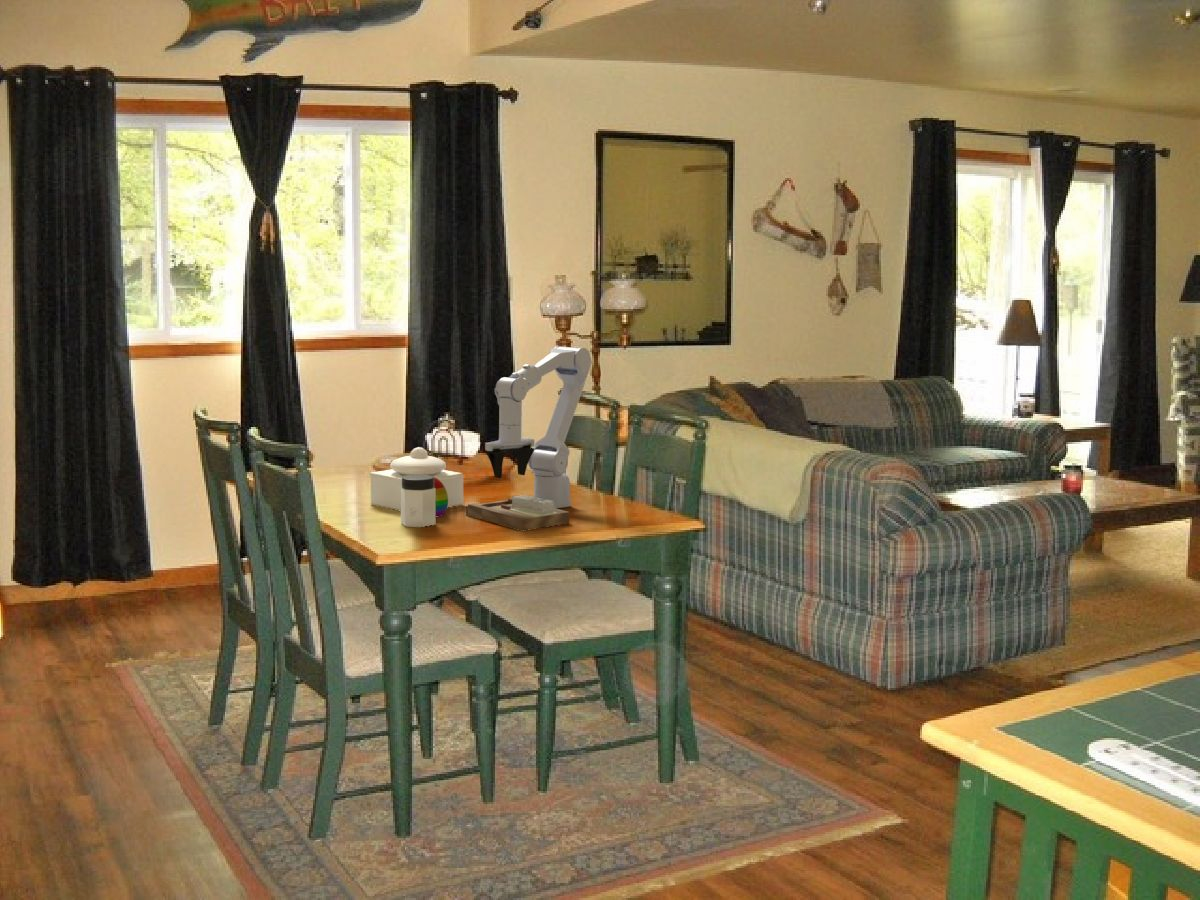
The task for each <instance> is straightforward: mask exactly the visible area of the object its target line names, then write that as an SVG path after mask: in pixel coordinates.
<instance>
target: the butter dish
mask: <svg viewBox="0 0 1200 900" xmlns="http://www.w3.org/2000/svg"><path fill="white" fill-rule="evenodd" d="M389 466H390V469H386V470H379V471H373V472H369V476H370V505H371V504H372V505H371V506H374V505H377V506H376V507H379V506H381V507H380V508H383V507H386V508H385V509H388V508H391V509H390V510H392V509H395V510H394V511H397V510H400V511H399V512H401V487H402V477H403V476H406V475H415V474H422V475H431V476H433V477H435V478H437V479H438V480H440V481H441V482H442V484H443V485H444V487H445V489H446V491H447V495H448V506H447V507H450V506H456V505H461V504H463V505H464V476H463V473H462V472H456V471H452V470H446V468H447V463H446V462H445V461H444V460H442V459H441V458H438V457H436V456H431V455H428V451H427V449H425V448H423V447H422V446H421V447H420V446H418V447H415V448H413V449H412V450H411V451H410V454H409V455H405V456H402V457H398V458H396V459H394V460H392V462H391V463H390V465H389ZM461 506H462V505H461ZM456 507H457V506H456Z"/></svg>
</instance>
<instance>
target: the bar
mask: <svg viewBox="0 0 1200 900" xmlns="http://www.w3.org/2000/svg"><path fill="white" fill-rule="evenodd" d="M511 498H512V508H513V509H517V510H522V511H526V512H531V513H536V514H540V515H545V514H550V513H554V501H551V500H546V499H541V498H536V497H534V496H530V495H526V494H521V495H516V496H512V497H511Z"/></svg>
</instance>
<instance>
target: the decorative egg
mask: <svg viewBox="0 0 1200 900" xmlns="http://www.w3.org/2000/svg"><path fill="white" fill-rule="evenodd" d="M434 488H435V489H436V516H440V517H442V516H444V515H445V513H446V511H447V509H448V508H447V506H448V495H447V491H446V489H445V487H444V485H443V484H442V482H441V481H440V480H438V479H437V478H435V477H434ZM441 515H442V516H441Z"/></svg>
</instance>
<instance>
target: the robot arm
mask: <svg viewBox="0 0 1200 900" xmlns="http://www.w3.org/2000/svg"><path fill="white" fill-rule="evenodd" d="M592 364H593V361H592V357H591V353H590V351H589V350H588V349H587V348H585V347H571V346H570V347H569V346H562V345H556V346H555V347H553V348H552V349H550V351H549V354H547V355H546V356H544V357H543V358H542V359H541V360H539V361H538V362H536V364H527V363H525V364H524V365H522V368H521V369H519V370H517V371H516V372H512V373H511V375H510V376H508V377H506V376H504V377H501V378H500V379H499V380H497V382H496V384H495V388H493V389H494V395H495V396H496V399H497V404H498V406H499V407H498V408H499V409H498V410H499V414H498V415H499V420H498V422H499V423H498V424H499V425H498V427H499V429H498V440H494V441H490V442H485V443H484V444H485V445H484V450H485V453H486V455H487V457H488V460H489V461H490V464H491V465H490V466H491V467H492V471H493V474H494V475H493V476H494V478H496V479H502V476H503V463H504V459H505V458H504V457H505V454H506V453H505V452H503V451H502V450H509V449H514V450H515V454H516V461H517V462H516V463H517V466H516V467H517V474H518V475H520V476H525V474H526V472H527V468H528V467H529V469H530V470H531V474H534V475H533V477H534V478H533V479H534V481H533V482H534V485H533V497H536V498H541V499H546V500H551V501H554V508H555V509H561V508H569V507H572V506H573V504H572V503H571V481H570V478H569V476H568V475H567V474H566V473H565V472H566V470H567V468H568V464H569V455H570V453H571V451H570V450H569V447H568V446H567V445H566V443H565V442H566V439H567V435H568V433H569V431H570V428H571V424H572V421H573V418H574V417H575V413H576V410H577V407H578V404H579V402H580V399H581V396H582V393H583V391H584V387H585V384H586V381H587V378H588V375H589V373H590V372H589V371H590V369H591V366H592ZM553 371H555V372H556V375H557V376H558V379H560V380H561V381H562V383H563V385H562V388H561V391H560V393H559V395H558V396H559V397H558V399H557V403H556V405H555V408H554V411H553V414H552V416H551V419H550V422H549V425H548V427H547V431H546V432H545V436H543V437H542V438H540V439H538V440H537V441H535V439H534V438H531V437H530V438H522V414H523V413H522V409H523V408H522V405H523V404H522V403H523V400H524V399H525V398H526V396H527V393H528V392H529V391H530V390H531V389H533V388H535V387H536V386H537V385H539V384H540V383H541V382H542V377H544V376H545V375H547V374H549V373H551V372H553Z"/></svg>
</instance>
